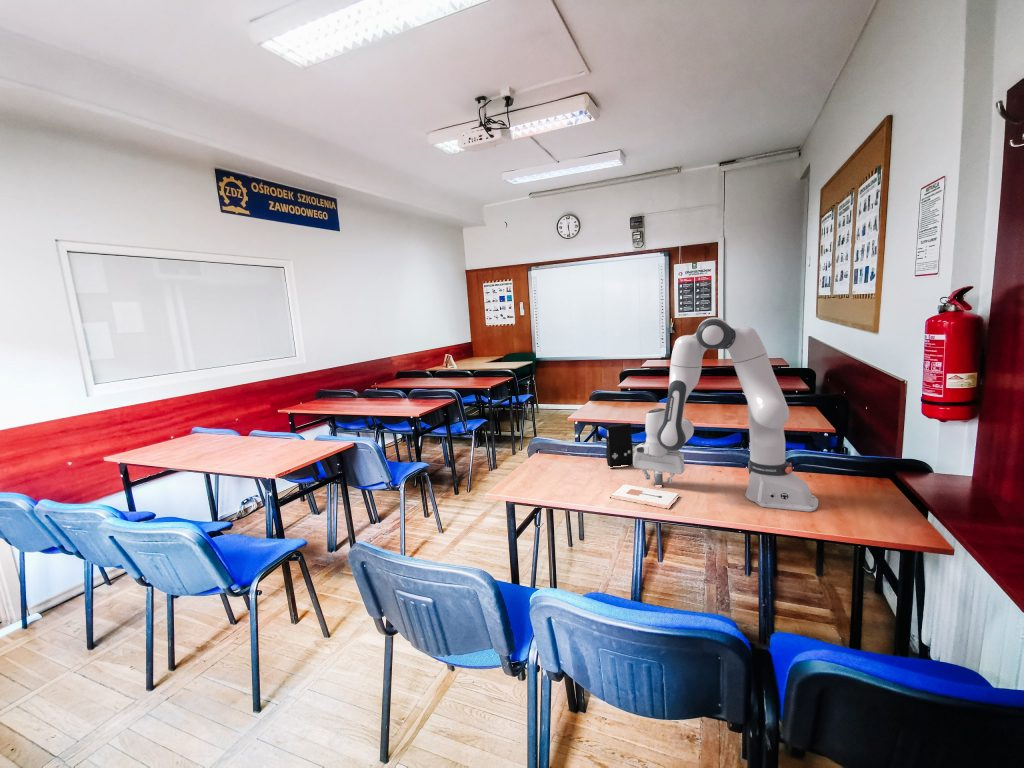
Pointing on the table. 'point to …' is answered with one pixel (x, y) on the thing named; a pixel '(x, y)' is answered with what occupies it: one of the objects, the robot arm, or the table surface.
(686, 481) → the table surface
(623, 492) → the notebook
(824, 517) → the table surface
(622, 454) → the handheld gaming console
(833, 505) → the table surface
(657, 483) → the white-topped grey cylinder
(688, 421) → the robot arm
